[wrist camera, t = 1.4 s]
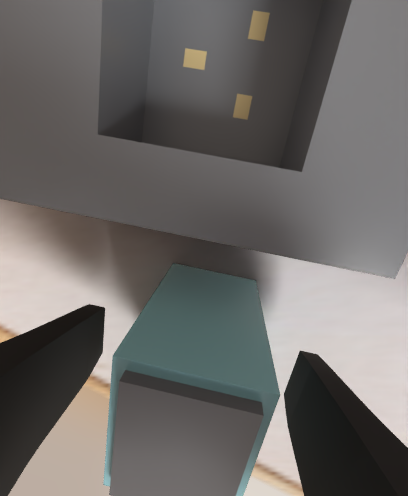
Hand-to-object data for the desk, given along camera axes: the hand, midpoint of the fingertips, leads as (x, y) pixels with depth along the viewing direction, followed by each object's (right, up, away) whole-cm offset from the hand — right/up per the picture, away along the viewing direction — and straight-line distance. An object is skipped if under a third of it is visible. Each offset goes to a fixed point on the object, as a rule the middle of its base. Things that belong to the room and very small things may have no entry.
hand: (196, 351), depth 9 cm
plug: (0, +1, +2) cm, 2 cm away
